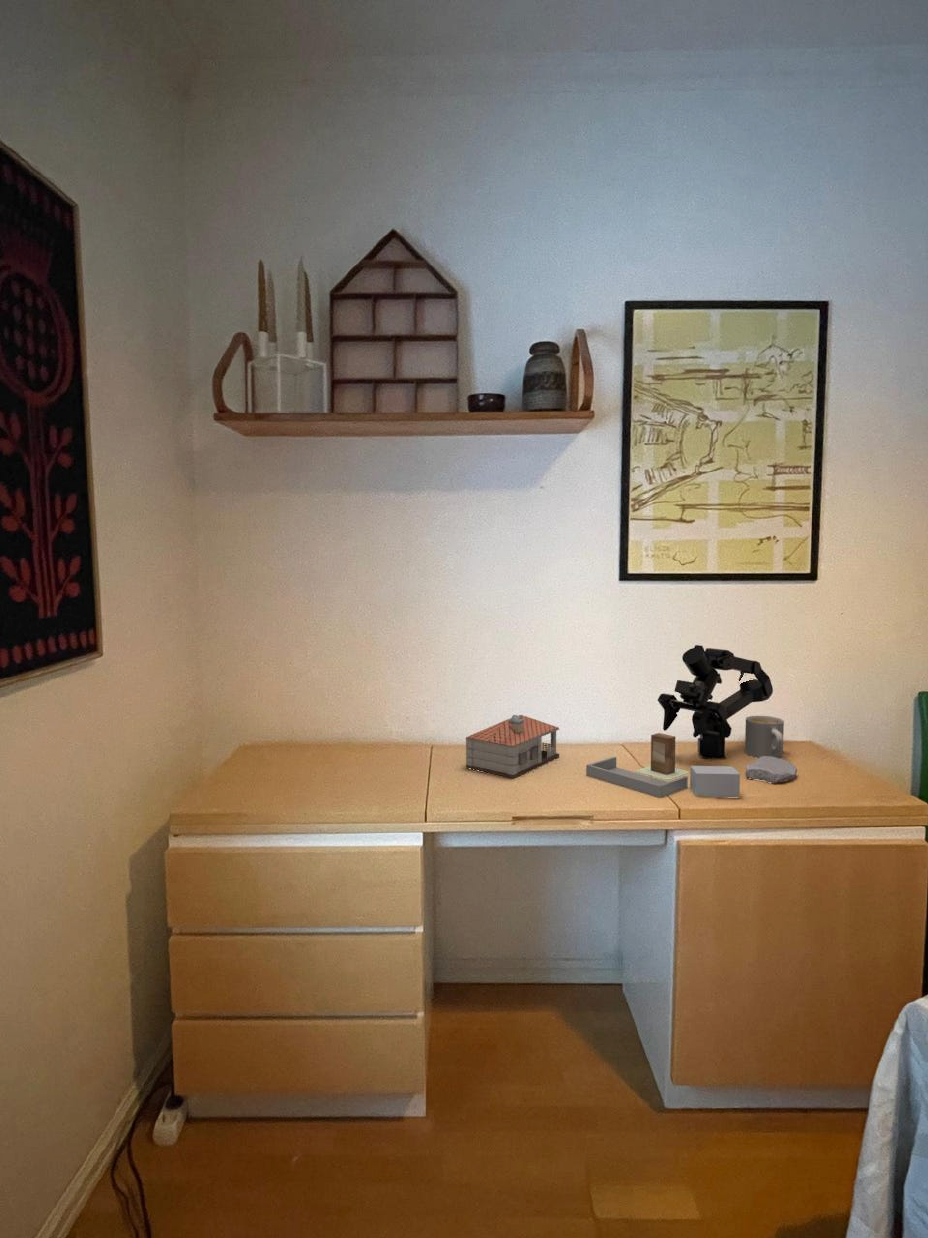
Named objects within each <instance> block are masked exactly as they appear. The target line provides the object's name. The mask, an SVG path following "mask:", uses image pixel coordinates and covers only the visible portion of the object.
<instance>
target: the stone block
mask: <svg viewBox="0 0 928 1238" xmlns="http://www.w3.org/2000/svg"><path fill="white" fill-rule="evenodd" d="M745 767H746V768H745V776H746V777H748V778H751V779H750V780H752V779H759V780H765V781H767V782H771V783H776V784H778V783H777V782H780V783H782V782H781V781H783V782H786V781H785V780H788V781H791V780H794V779H795V778H796V775H797V772H798V768H797V766H796V765H795V764H793V763H792V762H791V761H787V760H785V759H783V758H776V757H768V756H762V757H760V758H756V759H755V761H754V762H753V763H751V764H749V763H748V764H747V765H746V766H745ZM748 778H747V779H748ZM793 778H794V779H793ZM790 779H791V780H790Z"/></svg>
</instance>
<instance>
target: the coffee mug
mask: <svg viewBox="0 0 928 1238" xmlns="http://www.w3.org/2000/svg"><path fill="white" fill-rule="evenodd" d="M784 724H785V721H784V719H783V718H779V717H775V716H770V715H749V716H746V718H745V738H744V754H745V753H746V755H747V756H748V757H751V756H752V758H755V757H757V758H756V759H758V758H760V757H762V756H768V757H776V758H779V759H782V758H783V757H784V728H785V727H784Z"/></svg>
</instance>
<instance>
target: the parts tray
mask: <svg viewBox="0 0 928 1238" xmlns="http://www.w3.org/2000/svg"><path fill="white" fill-rule="evenodd" d="M585 767H586V769H585V775H586V776H587V777H590V778H593V779H597V780H600V781H604V782H607V783H610V784H614V785H616V786H620V787H623V788H627V789H629V790H632V791H636V792H639V793H642V794H646V795H648V796H649V795H650V796H652V797H655V798H659V799H661V798H663V797H666V796H668V795H671V794H674V793H676V792H680V791H682V790H685V789H688V782H689V781H688V780H689V776H687V775H682V776H679V777H676V778H674V779H671V780H664V779H660V778H657V777H653V776H650V775H646V774H643V773H639V772H635V771H631V770H628V769H624V768H621V767H617V756H612V757H607V758H605V759H602V760H598V761H595V762H592V763H589V764H586V766H585Z"/></svg>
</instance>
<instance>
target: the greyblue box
mask: <svg viewBox="0 0 928 1238" xmlns="http://www.w3.org/2000/svg"><path fill="white" fill-rule="evenodd" d="M689 767H690V771H689V772H690V773H689V774H690V775H689V777H690V780H689V789H690V790H691V791H692V793H693V794H694V796H695V797H703V796H704V798H706V797H707V798H708V797H709V798H710V797H711V798H718V797H739V798H740V790H741V787H740V786H741V785H740V784H741V783H740V782H741V774H740V772H738V771H737V770H736V768H735V767H734V766H723V765H722V766H719V765H690V766H689ZM705 796H706V797H705Z"/></svg>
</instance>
